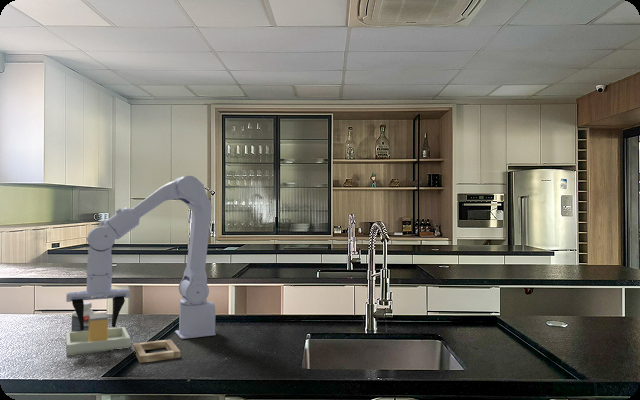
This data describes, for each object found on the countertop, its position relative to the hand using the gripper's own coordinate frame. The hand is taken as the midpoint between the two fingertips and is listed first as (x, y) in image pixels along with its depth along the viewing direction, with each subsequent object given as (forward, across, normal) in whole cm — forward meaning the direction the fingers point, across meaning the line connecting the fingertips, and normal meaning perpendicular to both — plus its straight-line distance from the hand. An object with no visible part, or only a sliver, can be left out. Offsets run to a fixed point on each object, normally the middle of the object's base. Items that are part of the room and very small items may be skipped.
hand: (97, 327), depth 119 cm
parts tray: (+4, 0, 0) cm, 4 cm away
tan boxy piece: (+4, 0, 0) cm, 4 cm away
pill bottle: (+5, -3, +11) cm, 12 cm away
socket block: (+4, +12, -13) cm, 18 cm away
